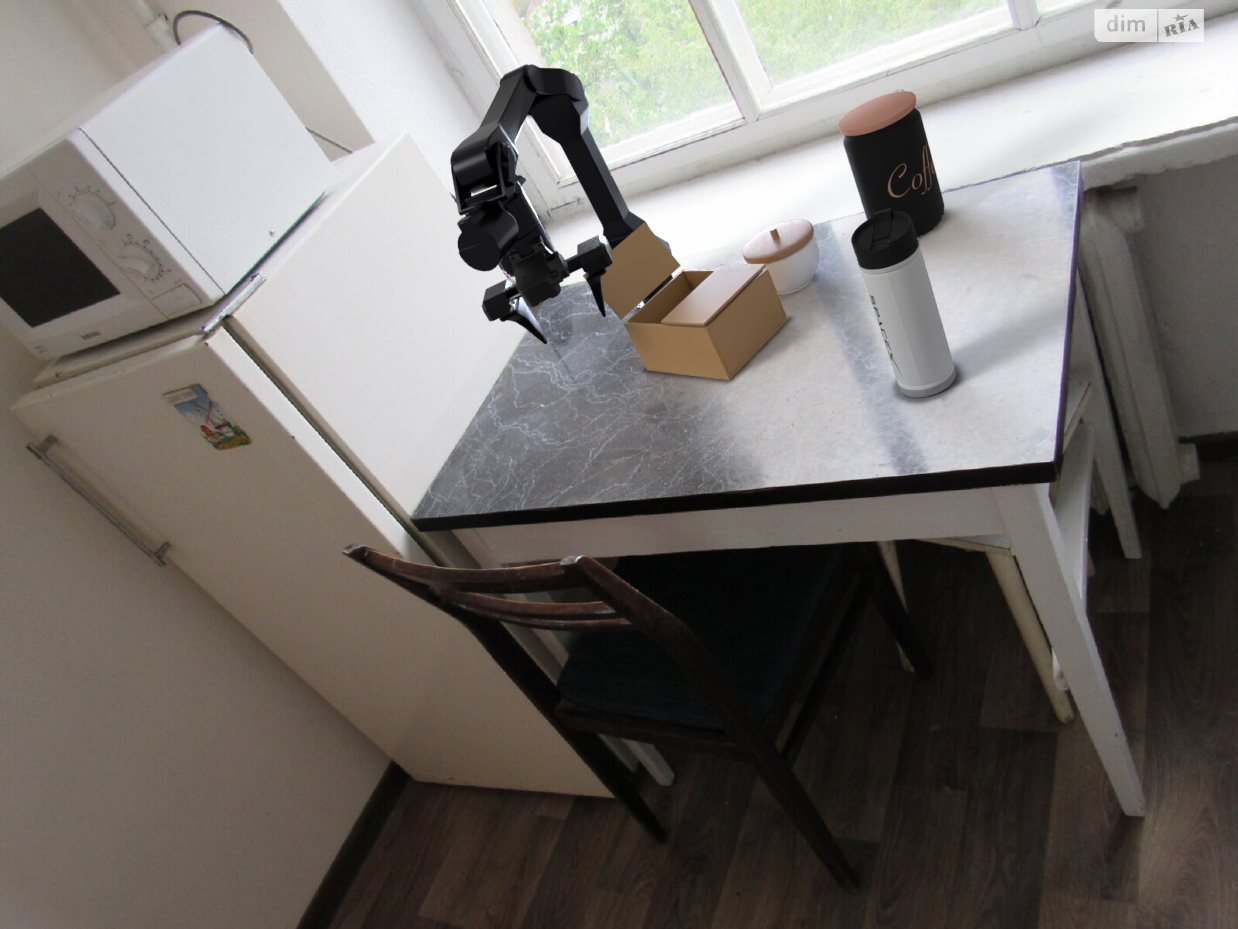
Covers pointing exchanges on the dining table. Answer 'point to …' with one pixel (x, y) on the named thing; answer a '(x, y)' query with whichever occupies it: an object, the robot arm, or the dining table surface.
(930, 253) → the dining table surface
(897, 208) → the coffee jar
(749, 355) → the carton
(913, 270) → the travel mug
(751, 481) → the dining table surface
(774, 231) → the trinket box
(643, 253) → the flap
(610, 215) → the robot arm
